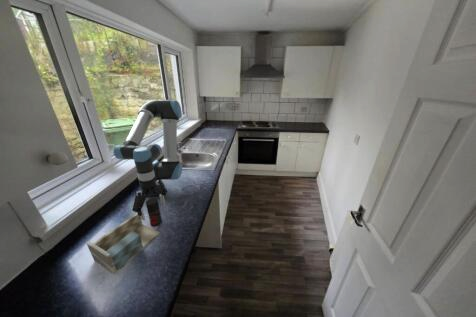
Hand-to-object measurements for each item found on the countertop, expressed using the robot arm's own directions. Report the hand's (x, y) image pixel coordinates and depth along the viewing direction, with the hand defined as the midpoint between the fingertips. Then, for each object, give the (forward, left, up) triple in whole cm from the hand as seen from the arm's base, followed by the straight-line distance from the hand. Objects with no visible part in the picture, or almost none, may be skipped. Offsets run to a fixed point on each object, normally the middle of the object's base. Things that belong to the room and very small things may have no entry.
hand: (153, 211), depth 97 cm
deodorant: (0, 0, -9) cm, 9 cm away
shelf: (+17, +1, -8) cm, 19 cm away
